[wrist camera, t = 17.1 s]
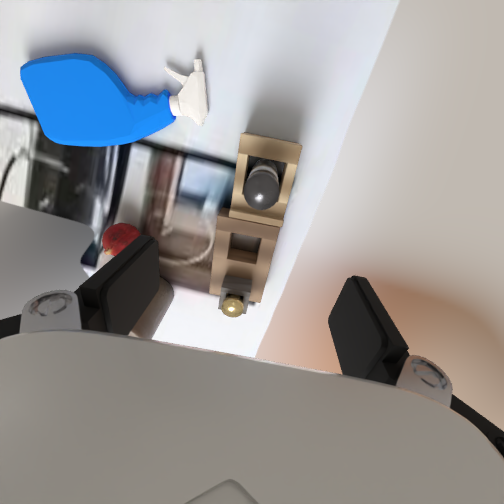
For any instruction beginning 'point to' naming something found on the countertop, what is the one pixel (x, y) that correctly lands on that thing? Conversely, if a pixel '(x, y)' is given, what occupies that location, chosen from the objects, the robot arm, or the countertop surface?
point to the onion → (118, 237)
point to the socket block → (241, 259)
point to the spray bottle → (104, 101)
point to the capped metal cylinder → (262, 185)
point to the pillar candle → (154, 312)
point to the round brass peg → (232, 306)
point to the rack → (290, 156)
